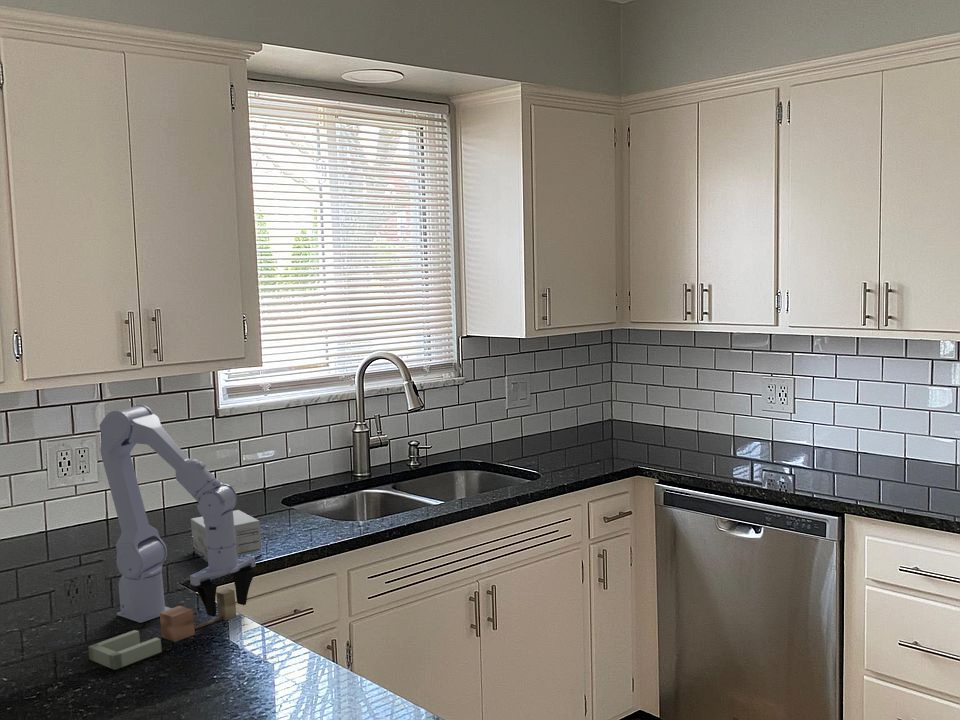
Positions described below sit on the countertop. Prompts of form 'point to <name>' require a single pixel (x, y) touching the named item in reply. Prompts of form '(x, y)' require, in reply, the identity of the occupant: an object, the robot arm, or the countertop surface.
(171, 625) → the corded block
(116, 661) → the pale green u-shape
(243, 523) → the supplement box
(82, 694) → the countertop surface
